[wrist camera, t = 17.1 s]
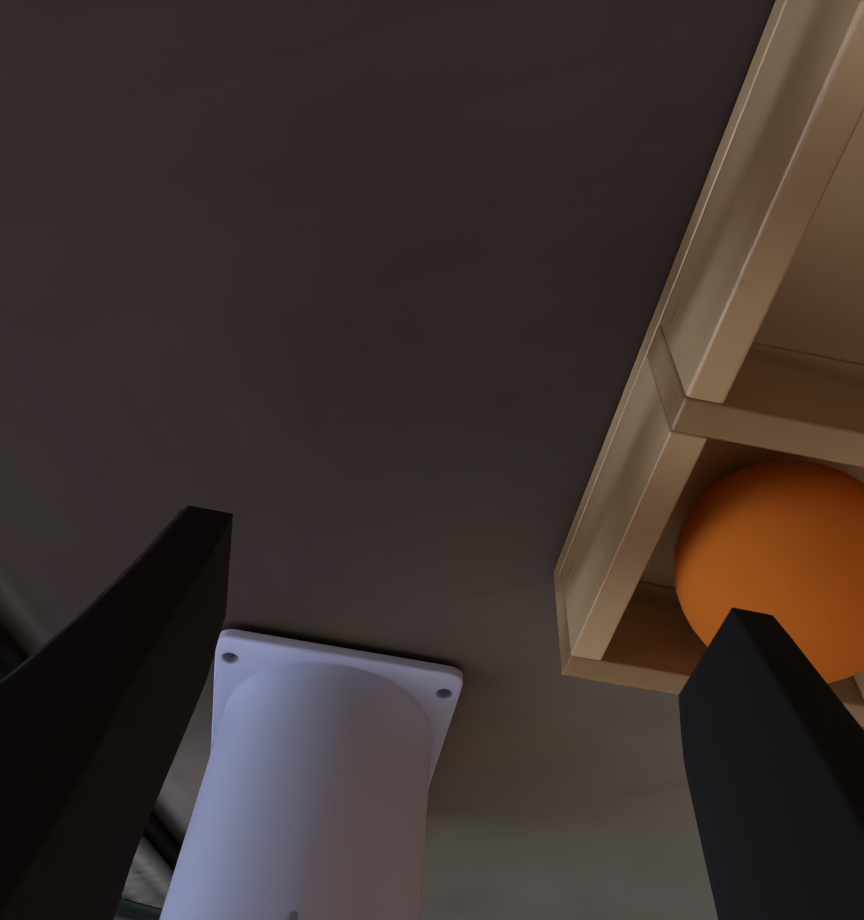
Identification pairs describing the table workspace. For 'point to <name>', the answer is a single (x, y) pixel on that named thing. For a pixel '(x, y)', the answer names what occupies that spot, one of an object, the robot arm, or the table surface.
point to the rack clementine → (780, 558)
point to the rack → (734, 351)
